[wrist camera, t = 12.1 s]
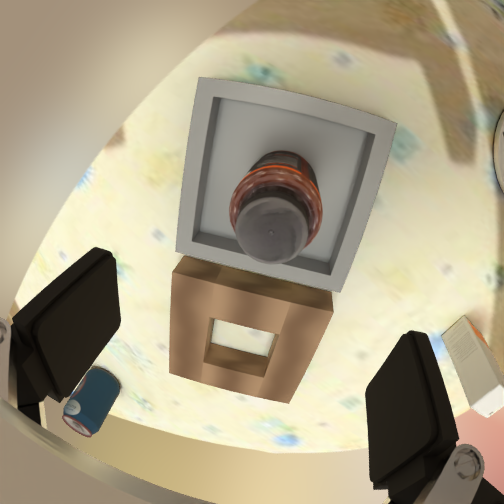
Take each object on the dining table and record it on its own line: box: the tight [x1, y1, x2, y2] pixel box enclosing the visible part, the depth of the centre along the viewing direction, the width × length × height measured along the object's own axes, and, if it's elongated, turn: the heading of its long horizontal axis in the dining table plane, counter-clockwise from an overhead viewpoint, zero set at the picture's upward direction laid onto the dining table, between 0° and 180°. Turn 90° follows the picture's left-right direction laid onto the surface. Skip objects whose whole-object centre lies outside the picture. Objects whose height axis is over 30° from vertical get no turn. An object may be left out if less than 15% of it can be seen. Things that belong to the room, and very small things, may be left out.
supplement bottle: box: [229, 150, 323, 264], centre depth 21 cm, size 6×6×11 cm
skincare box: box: [442, 316, 504, 418], centre depth 26 cm, size 6×4×12 cm
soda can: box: [62, 368, 120, 437], centre depth 41 cm, size 7×7×12 cm
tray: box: [175, 77, 397, 292], centre depth 25 cm, size 16×16×3 cm
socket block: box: [169, 256, 334, 404], centre depth 33 cm, size 16×16×4 cm
